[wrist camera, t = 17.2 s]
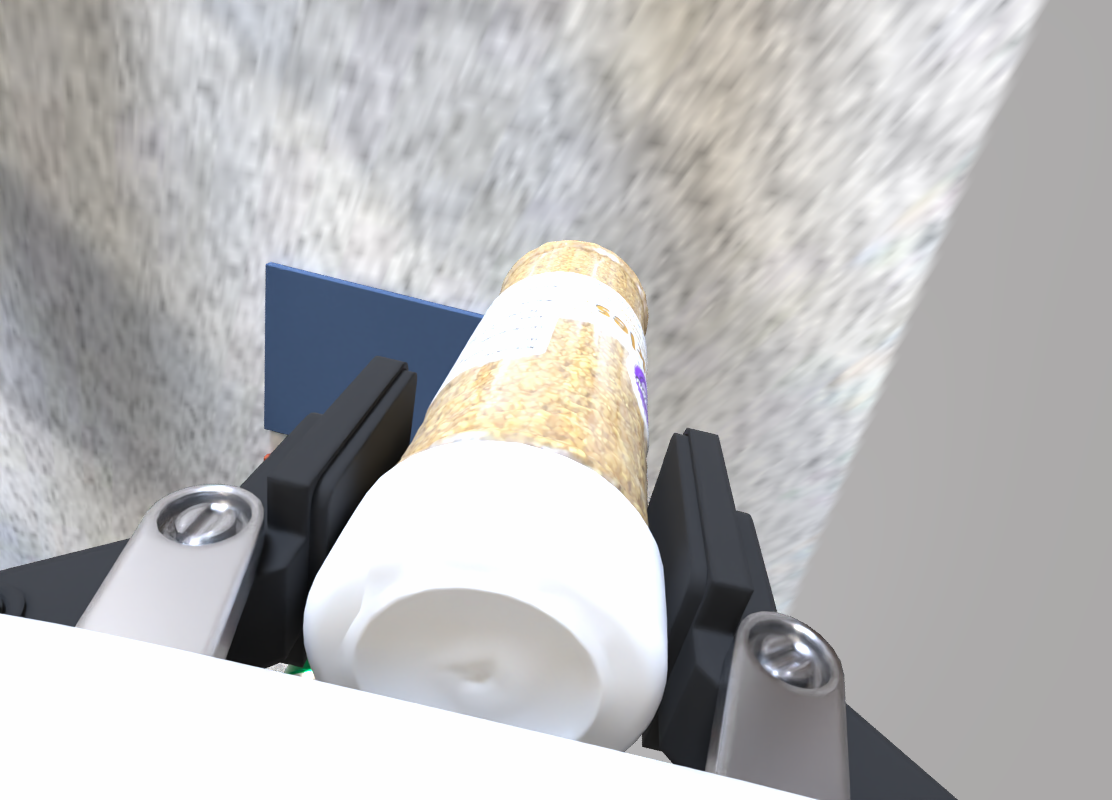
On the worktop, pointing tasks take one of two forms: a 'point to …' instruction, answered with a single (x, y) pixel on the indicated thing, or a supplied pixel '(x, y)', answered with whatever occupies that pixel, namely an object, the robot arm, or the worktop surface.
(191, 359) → the worktop surface
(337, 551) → the sprinkles bottle
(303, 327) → the slate-blue mat
